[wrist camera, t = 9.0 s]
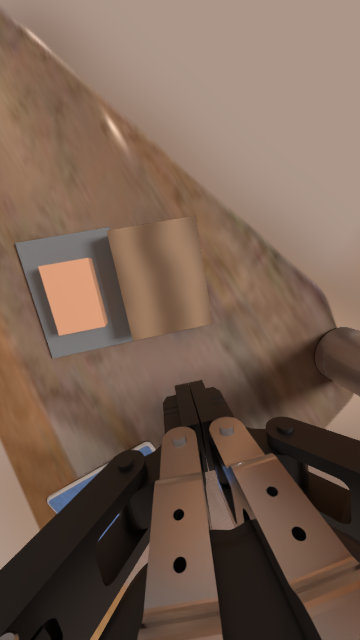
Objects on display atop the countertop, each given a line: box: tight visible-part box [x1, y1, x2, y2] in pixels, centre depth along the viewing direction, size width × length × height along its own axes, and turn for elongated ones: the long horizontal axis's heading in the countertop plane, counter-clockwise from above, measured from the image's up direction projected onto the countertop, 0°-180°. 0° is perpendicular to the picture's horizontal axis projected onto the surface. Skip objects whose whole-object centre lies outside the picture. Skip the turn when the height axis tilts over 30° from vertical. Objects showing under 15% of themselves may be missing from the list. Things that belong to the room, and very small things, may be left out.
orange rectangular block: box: [38, 258, 108, 336], centre depth 32 cm, size 6×9×2 cm, turn 10°
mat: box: [15, 227, 135, 358], centre depth 33 cm, size 12×16×1 cm
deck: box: [107, 216, 213, 341], centre depth 33 cm, size 11×14×4 cm
